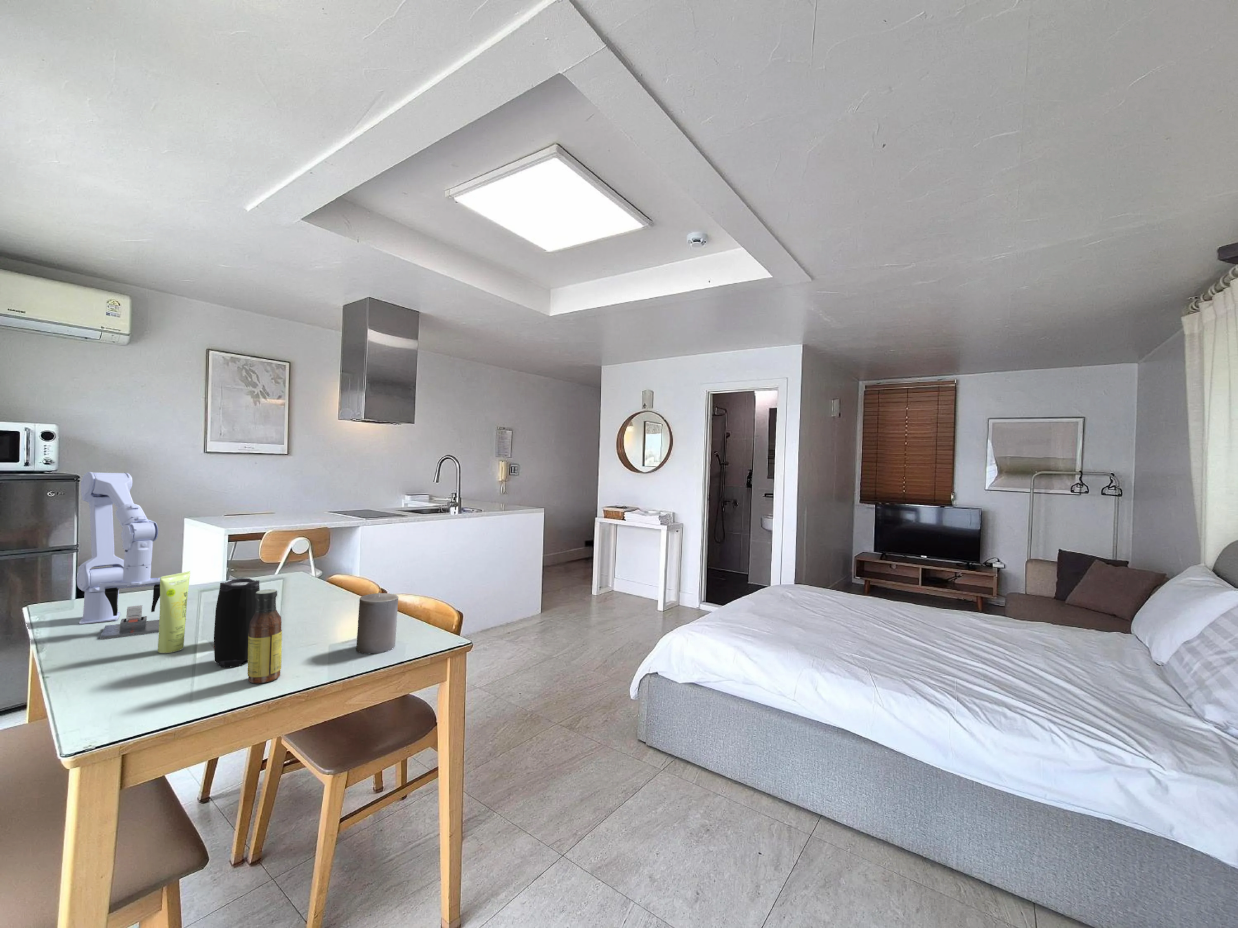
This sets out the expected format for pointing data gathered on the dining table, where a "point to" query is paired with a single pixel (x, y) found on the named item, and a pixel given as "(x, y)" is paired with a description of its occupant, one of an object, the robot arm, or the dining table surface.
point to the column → (134, 613)
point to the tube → (173, 611)
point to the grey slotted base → (130, 628)
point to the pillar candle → (377, 623)
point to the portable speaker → (234, 620)
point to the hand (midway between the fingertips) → (134, 613)
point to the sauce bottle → (265, 639)
